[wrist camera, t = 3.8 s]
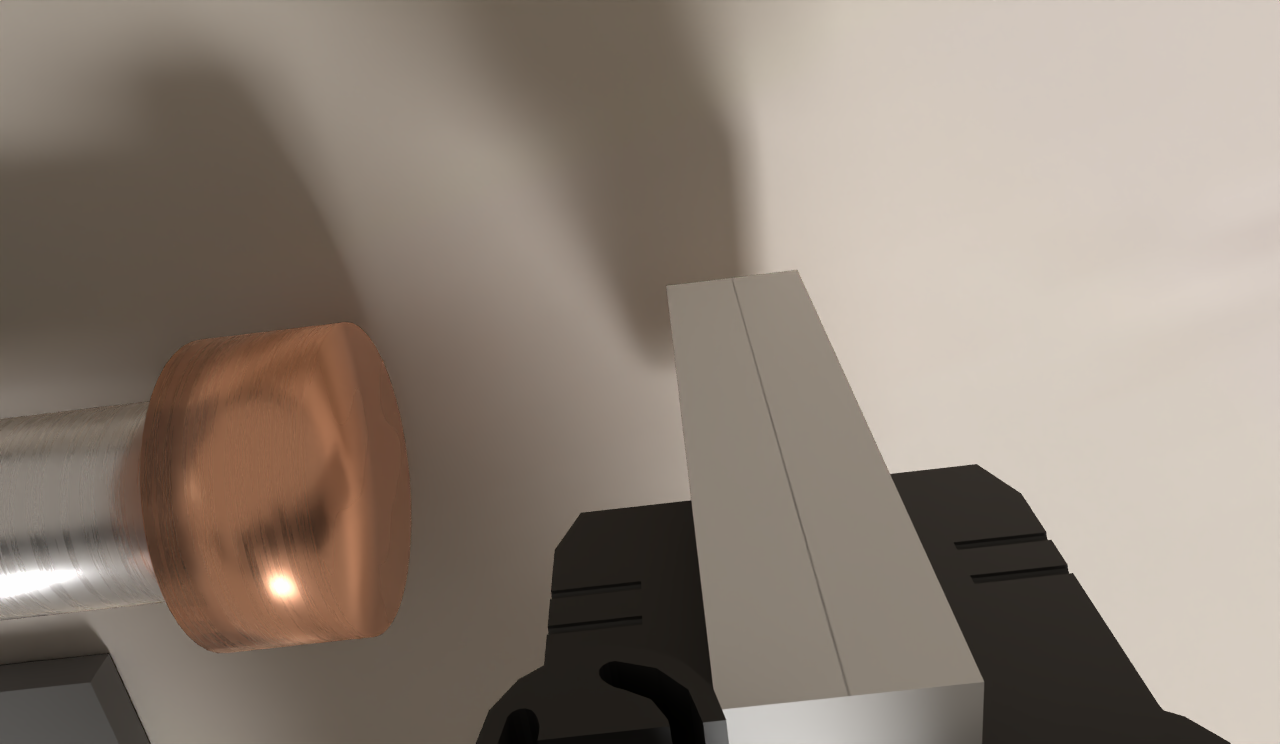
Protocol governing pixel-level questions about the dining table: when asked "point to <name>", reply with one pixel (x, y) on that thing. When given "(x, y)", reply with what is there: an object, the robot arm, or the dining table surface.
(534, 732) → the robot arm
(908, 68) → the dining table surface
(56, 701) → the mat
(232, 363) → the plunger
